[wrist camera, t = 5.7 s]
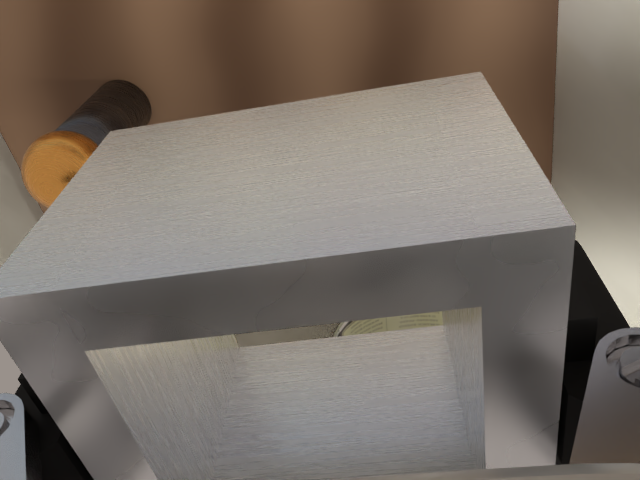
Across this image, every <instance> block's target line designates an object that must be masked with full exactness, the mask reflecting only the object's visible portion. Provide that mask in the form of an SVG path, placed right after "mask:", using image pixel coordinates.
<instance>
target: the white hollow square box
mask: <svg viewBox="0 0 640 480" xmlns="http://www.w3.org/2000/svg"><path fill="white" fill-rule="evenodd" d="M575 232H576V224H575V222H574V221H573V219H572V218H571V216H570V214H569V213H568V211H567V210H566V208H565V206H564V205H563V203H562V201H561V200H560V198H559V197H558V195H557V193H556V192H555V190H554V189H553V187H552V185H551V184H550V182H549V181H548V179H547V177H546V176H545V174H544V172H543V171H542V169H541V168H540V166H539V164H538V163H537V161H536V160H535V158H534V156H533V155H532V153H531V152H530V150H529V148H528V147H527V145H526V143H525V142H524V140H523V139H522V137H521V135H520V134H519V132H518V131H517V129H516V127H515V126H514V124H513V123H512V121H511V119H510V118H509V116H508V114H507V113H506V111H505V110H504V108H503V106H502V105H501V103H500V102H499V100H498V98H497V97H496V95H495V94H494V92H493V90H492V89H491V87H490V85H489V84H488V82H487V81H486V79H485V77H484V76H483V74H482V73H481V72H474V73H468V74H462V75H456V76H450V77H443V78H437V79H431V80H425V81H419V82H412V83H406V84H400V85H394V86H388V87H381V88H375V89H369V90H363V91H357V92H350V93H344V94H338V95H332V96H326V97H319V98H313V99H307V100H301V101H295V102H288V103H282V104H276V105H270V106H264V107H257V108H251V109H245V110H239V111H233V112H226V113H220V114H214V115H208V116H202V117H195V118H189V119H183V120H177V121H171V122H164V123H158V124H152V125H146V126H140V127H133V128H127V129H121V130H115V131H110V132H109V133H108V135H107V136H106V137H105V138H104V140H103V141H102V142H101V143H100V145H99V146H98V147H97V148H96V150H95V151H94V152H93V153H92V155H91V156H90V157H89V158H88V160H87V161H86V162H85V163H84V165H83V166H82V167H81V168H80V170H79V171H78V172H77V173H76V174H75V176H74V177H73V178H72V179H71V181H70V182H69V183H68V184H67V186H66V187H65V188H64V189H63V191H62V192H61V193H60V194H59V196H58V197H57V198H56V199H55V201H54V202H53V203H52V204H51V206H50V207H49V208H48V209H47V211H46V212H45V213H44V214H43V216H42V217H41V218H40V219H39V220H38V222H37V223H36V224H35V225H34V227H33V228H32V229H31V230H30V232H29V233H28V234H27V235H26V237H25V238H24V239H23V240H22V242H21V243H20V244H19V245H18V247H17V248H16V249H15V250H14V252H13V253H12V254H11V255H10V257H9V258H8V259H7V260H6V262H5V263H4V264H3V265H2V266H1V268H0V341H1V343H2V344H3V345H4V347H5V348H6V350H7V351H8V353H9V354H10V356H11V357H12V359H13V360H14V362H15V363H16V365H17V366H18V368H19V369H20V371H21V372H22V374H23V375H24V377H25V378H26V380H27V381H28V383H29V384H30V386H31V387H32V389H33V390H34V391H35V393H36V394H37V396H38V397H39V399H40V400H41V402H42V403H43V405H44V406H45V408H46V409H47V411H48V412H49V414H50V415H51V417H52V418H53V420H54V421H55V423H56V424H57V426H58V427H59V429H60V430H61V432H62V433H63V434H64V436H65V437H66V439H67V440H68V442H69V443H70V445H71V446H72V448H73V449H74V451H75V452H76V454H77V455H78V457H79V458H80V460H81V461H82V463H83V464H84V466H85V467H86V469H87V470H88V472H89V473H90V474H91V476H92V477H93V479H94V480H338V479H352V478H366V477H380V476H393V475H407V474H421V473H435V472H448V471H462V470H476V469H493V468H511V467H528V466H546V465H555V463H556V451H557V440H558V428H559V417H560V405H561V394H562V382H563V370H564V359H565V347H566V336H567V324H568V313H569V301H570V290H571V278H572V266H573V255H574V243H575ZM438 311H442V319H443V325H440V326H431V327H422V328H412V329H403V330H394V331H385V332H376V333H366V334H357V335H348V336H339V337H330V338H320V339H311V340H302V341H293V342H284V343H274V344H265V345H256V346H247V347H239V345H238V342H237V339H236V336H235V334H242V333H251V332H260V331H269V330H277V329H286V328H295V327H304V326H313V325H322V324H331V323H340V322H349V321H358V320H367V319H376V318H385V317H394V316H403V315H412V314H421V313H430V312H438Z"/></svg>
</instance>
